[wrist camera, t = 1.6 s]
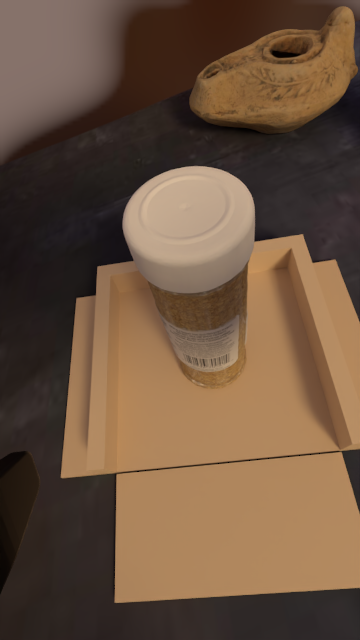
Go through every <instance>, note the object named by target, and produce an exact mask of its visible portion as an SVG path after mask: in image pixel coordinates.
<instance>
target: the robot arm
mask: <svg viewBox="0 0 360 640" xmlns="http://www.w3.org/2000/svg"><path fill="white" fill-rule="evenodd" d="M39 487H40V479H39V475H38V472H37V469H36V466H35V463H34V460H33V457H32V455H31V453H30V452H28V451H22V452H13V453H10V454H9V455H7V456H5V457H4V458H2V459H0V594H1V591H2V589H3V587H4V584H5V582H6V580H7V577H8V575H9V573H10V571H11V568H12V566H13V563H14V561H15V559H16V556H17V553H18V551H19V548H20V545H21V542H22V539H23V536H24V533H25V530H26V527H27V524H28V521H29V518H30V515H31V512H32V509H33V506H34V503H35V500H36V497H37V494H38V491H39Z"/></svg>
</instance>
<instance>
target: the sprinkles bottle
mask: <svg viewBox="0 0 360 640" xmlns="http://www.w3.org/2000/svg"><path fill="white" fill-rule="evenodd" d="M123 233H124V236H125V239H126V242H127V245H128V247H129V250H130V253H131V255H132V257H133V260H134V262H135V264H136V266H137V268H138V270H139V272H140V273H141V274H142V275H143V276H144V277H145V278H146V279H147V281H148V284H149V286H150V289H151V291H152V294H153V297H154V299H155V304H156V307H157V310H158V312H159V315H160V317H161V320H162V322H163V324H164V327H165V329H166V331H167V334H168V336H169V339H170V341H171V344H172V346H173V349H174V351H175V353H176V355H177V356H178V358H179V363H180V367H181V369H182V371H183V373H184V375H185V376H186V377H187V379H188V380H190V381H191V382H192V383H194V384H195V385H197V386H200V387H203V388H210V389H217V388H223V387H225V386H228V385H229V384H231V383H232V382H234V381H236V379H237V378H238V377H239V376H240V375H241V374H242V372H243V370H244V368H245V364H246V360H247V358H246V348H245V344H246V340H247V323H248V310H247V290H248V281H247V275H248V263H249V260H250V256H251V254H252V251H253V247H254V233H255V208H254V202H253V199H252V196H251V193H250V192H249V190H248V189H247V187H246V186H245V185H244V184H243V183H242V182H241V181H240V180H239V179H237V178H236V177H235V176H233V175H231V174H229V173H227V172H225V171H222V170H220V169H216V168H210V167H204V166H192V167H183V168H178V169H174V170H170V171H167V172H165V173H162V174H160V175H158V176H156V177H154V178H152V179H151V180H149V181H148V182H146V183H145V184H144V185H142V186H141V187H140V188H139V189H138V190H137V191H136V192H135V193H134V194H133V196H132V197H131V199H130V200H129V202H128V204H127V206H126V208H125V211H124V215H123Z"/></svg>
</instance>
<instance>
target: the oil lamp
mask: <svg viewBox="0 0 360 640" xmlns="http://www.w3.org/2000/svg"><path fill="white" fill-rule="evenodd" d="M354 31H355V23H354V17H353V13H352V11H351V9H349V8H347V7H345V6H344V7H338V8H336V9H335V10H334V11H333V12H332V13H331V14H330V16H329V17H328V19H327V21H326V23H325V25H324V27H323V28H322V29H321V30H319V31H313V30H295V29H287V30H280V31H277V32H273V33H271V34H269V35H266V36H265V37H262V38H261V39H259V40H257V41H256V42H254V43H253V44H251V45H249V46H247V47H245V48H242V49H240V50H238V51H236V52H234V53H231V54H229V55H227V56H225V57H223V58H221V59H219V60H217V61H215V62H213V63H211V64H210V65H208V66H207V67H206V68H205V69H204V70H203V71H202V72H201V73H200V74H199V75H198V76H197V79H196V83H195V85H194V88H193V90H192V93H191V95H190V99H189V100H190V102H189V104H190V108H191V110H192V111H193V112H194V113H195V114H196V115H197V116H198V117H200V118H201V119H203V120H205V121H206V122H208V123H211V124H214V125H219V126H227V127H240V128H249V129H253V130H257V131H259V132H261V133H267V134H275V133H287V132H291V131H293V130H295V129H297V128H299V127H301V126H303V125H304V124H306V123H308V122H309V121H311V120H312V119H314V118H316V117H317V116H319V115H320V114H322V113H323V112H325V111H326V110H328V109H329V108H330V107H332V106H333V105H334V104H335V103H337V102H338V101H339V100H340V98H341V97H342V96H343V95H344V93H345V91H346V89H347V87H348V85H349V83H350V80H351V79H352V78H353V77H354V76H355V75H356V74H357V71H358V67H357V66H356V64H355V57H354V49H353V41H354Z"/></svg>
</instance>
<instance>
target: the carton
mask: <svg viewBox="0 0 360 640" xmlns="http://www.w3.org/2000/svg"><path fill="white" fill-rule="evenodd" d="M247 281H248V290H247V310H248V323H247V340H246V344H245V348H246V358H247V360H246V364H245V368H244V370H243V372H242V374H241V375H240V376H239V377H238V378H237V379H236V381H234V382H232V383H231V384H229V385H228V386H225V387H223V388H217V389H210V388H203V387H200V386H197V385H195V384H194V383H192V382H191V381H190V380H188V379H187V377H186V376H185V375H184V373H183V371H182V369H181V367H180V363H179V358H178V356H177V355H176V353H175V351H174V349H173V346H172V344H171V341H170V339H169V336H168V334H167V331H166V329H165V327H164V324H163V322H162V320H161V317H160V315H159V312H158V310H157V307H156V304H155V299H154V297H153V294H152V291H151V289H150V286H149V284H148V281H147V279H146V278H145V277H144V276H143V275H142V274H141V273H140V272H139V270H138V268H137V266H136V264H135V262H134V261H130V262H123V263H117V264H111V265H104V266H98V268H97V286H96V295H95V296H88V297H82V298H77V299H76V311H75V322H74V333H73V345H72V356H71V367H70V379H69V390H68V401H67V413H66V424H65V435H64V447H63V458H62V469H61V478H70V477H80V476H90V475H100V474H110V473H120V472H130V471H141V470H151V469H161V468H171V467H181V466H191V465H201V464H212V463H222V462H232V461H242V460H252V459H262V458H272V457H283V456H293V455H303V454H313V453H323V452H333V451H343V450H354V449H360V322H359V320H358V317H357V315H356V312H355V309H354V307H353V304H352V302H351V299H350V296H349V294H348V291H347V289H346V286H345V283H344V281H343V278H342V276H341V273H340V270H339V268H338V265H337V263H336V260H330V261H323V262H317V263H312V261H311V258H310V255H309V252H308V249H307V246H306V243H305V240H304V237H303V234H302V235H296V236H289V237H283V238H276V239H270V240H264V241H257V242H254V247H253V251H252V254H251V256H250V260H249V263H248V275H247ZM346 588H360V514H359V511H358V507H357V504H356V500H355V497H354V494H353V490H352V487H351V483H350V480H349V476H348V473H347V470H346V466H345V463H344V459H343V456H342V452H337V453H327V454H316V455H306V456H296V457H286V458H276V459H266V460H255V461H245V462H235V463H225V464H215V465H204V466H194V467H184V468H174V469H164V470H154V471H143V472H133V473H123V474H117V484H116V552H115V603H122V602H138V601H154V600H170V599H186V598H202V597H218V596H234V595H250V594H266V593H282V592H298V591H314V590H330V589H346Z"/></svg>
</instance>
